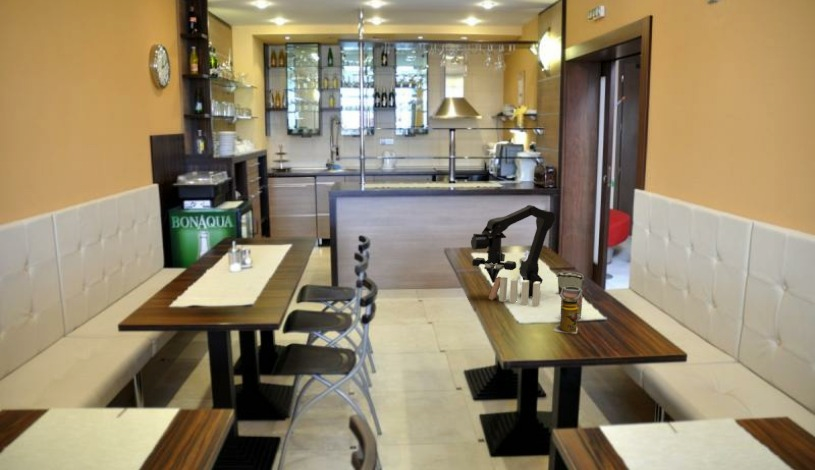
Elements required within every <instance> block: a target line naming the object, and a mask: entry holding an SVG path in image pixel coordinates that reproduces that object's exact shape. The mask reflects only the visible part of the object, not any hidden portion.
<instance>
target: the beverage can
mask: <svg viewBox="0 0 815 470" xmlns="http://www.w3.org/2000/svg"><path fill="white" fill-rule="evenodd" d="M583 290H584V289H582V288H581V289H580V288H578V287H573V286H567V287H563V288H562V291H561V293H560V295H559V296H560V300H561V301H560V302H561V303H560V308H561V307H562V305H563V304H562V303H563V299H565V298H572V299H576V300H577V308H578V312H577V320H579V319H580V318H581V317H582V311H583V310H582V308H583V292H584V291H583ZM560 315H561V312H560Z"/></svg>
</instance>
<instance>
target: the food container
mask: <svg viewBox="0 0 815 470" xmlns="http://www.w3.org/2000/svg"><path fill="white" fill-rule="evenodd" d="M556 278H557V287H558V288H557V289H558V290H557V291H558V295H559V296H560V293H561V291H562V288H563V287H567V286H573V287H578V288H580V289H581V290H582V286H583V281H585V278H584V275H583V273H580V272H577V271H560V272H557V274H556Z"/></svg>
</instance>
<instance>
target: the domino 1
mask: <svg viewBox="0 0 815 470" xmlns="http://www.w3.org/2000/svg"><path fill="white" fill-rule="evenodd" d="M502 277H503V276H502ZM502 277H501V276H497V278H496V280H495V282H494V283H493V285H492V288H491V290H490V293H489V296H488V299H489V300H491V301H494V300H495V299H496V298H497V295H498V292H499V291H500V279H501V278H502Z"/></svg>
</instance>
